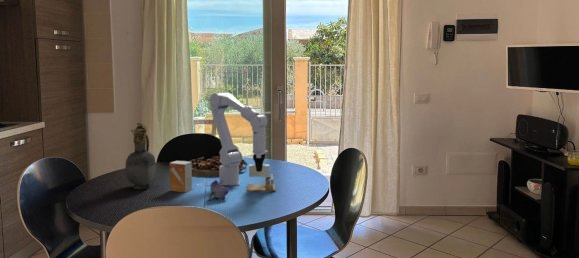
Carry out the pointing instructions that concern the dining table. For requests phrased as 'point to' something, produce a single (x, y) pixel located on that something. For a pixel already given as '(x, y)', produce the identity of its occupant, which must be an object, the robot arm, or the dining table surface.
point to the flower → (218, 190)
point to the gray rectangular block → (259, 174)
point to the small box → (180, 176)
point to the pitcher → (140, 160)
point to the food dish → (210, 167)
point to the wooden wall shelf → (262, 186)
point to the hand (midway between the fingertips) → (259, 170)
